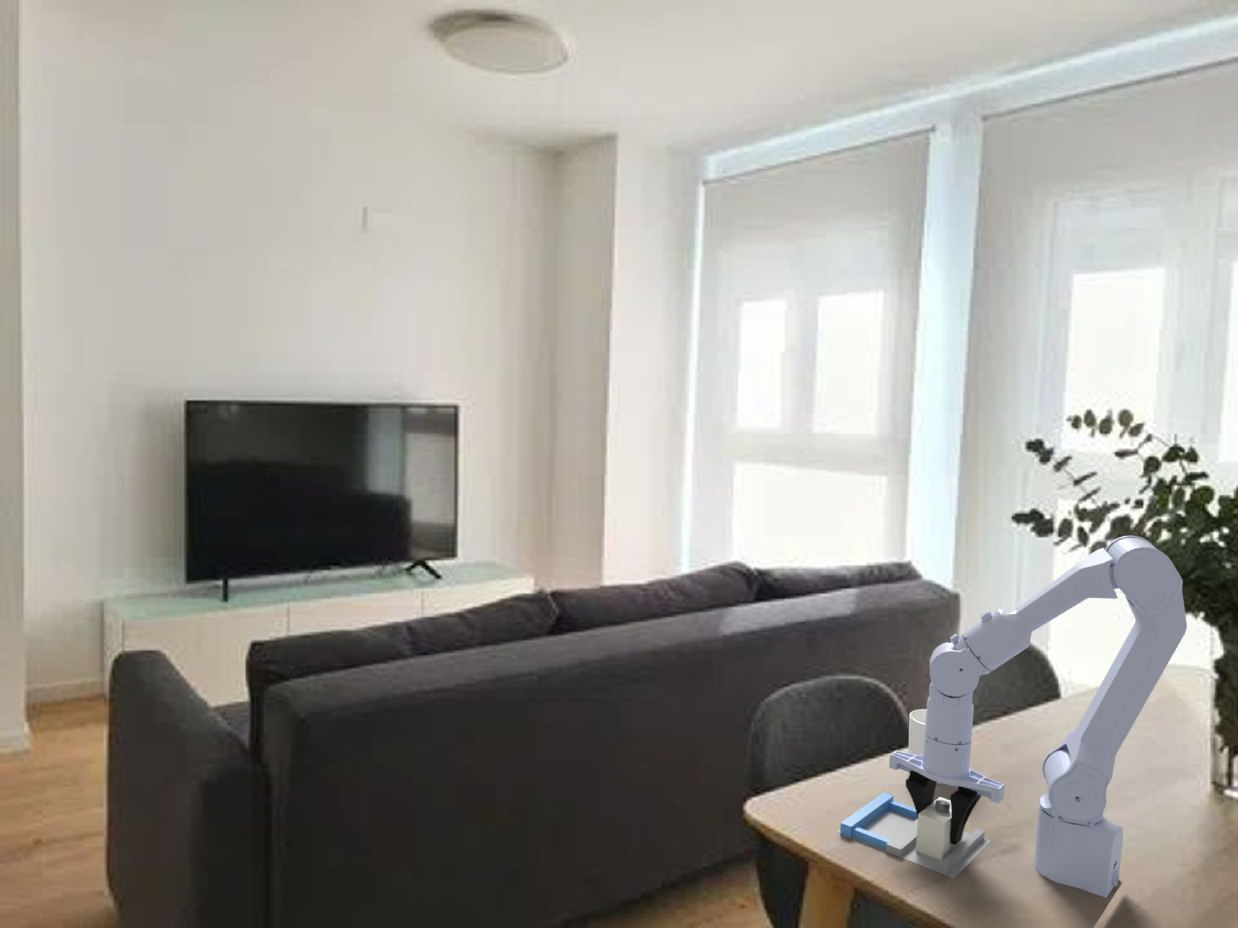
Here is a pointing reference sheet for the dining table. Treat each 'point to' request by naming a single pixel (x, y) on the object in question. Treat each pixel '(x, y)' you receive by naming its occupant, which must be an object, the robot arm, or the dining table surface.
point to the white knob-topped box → (935, 830)
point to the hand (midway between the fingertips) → (940, 835)
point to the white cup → (917, 732)
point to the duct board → (906, 835)
